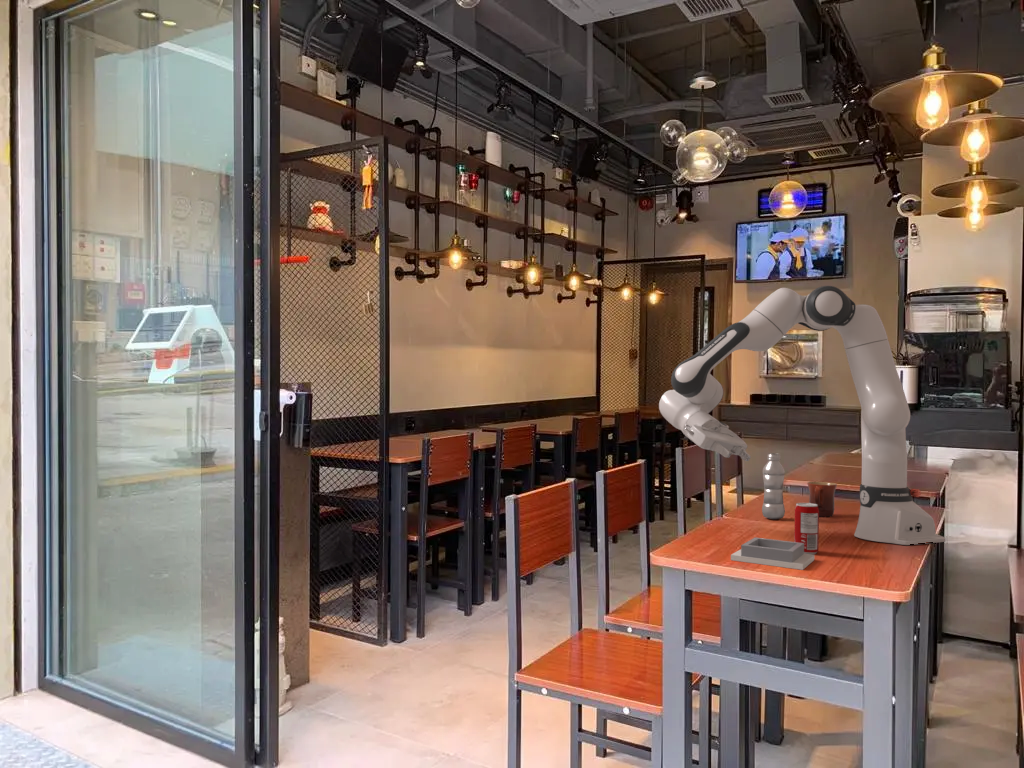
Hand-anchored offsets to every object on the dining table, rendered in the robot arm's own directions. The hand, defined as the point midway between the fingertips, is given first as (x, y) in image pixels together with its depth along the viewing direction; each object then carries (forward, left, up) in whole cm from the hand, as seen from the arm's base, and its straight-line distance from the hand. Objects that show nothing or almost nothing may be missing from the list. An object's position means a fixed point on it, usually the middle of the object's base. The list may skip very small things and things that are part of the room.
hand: (738, 457), depth 204 cm
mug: (-44, -30, -22) cm, 57 cm away
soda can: (-9, +18, -22) cm, 30 cm away
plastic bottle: (-26, -27, -22) cm, 43 cm away
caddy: (+4, +25, -22) cm, 33 cm away
